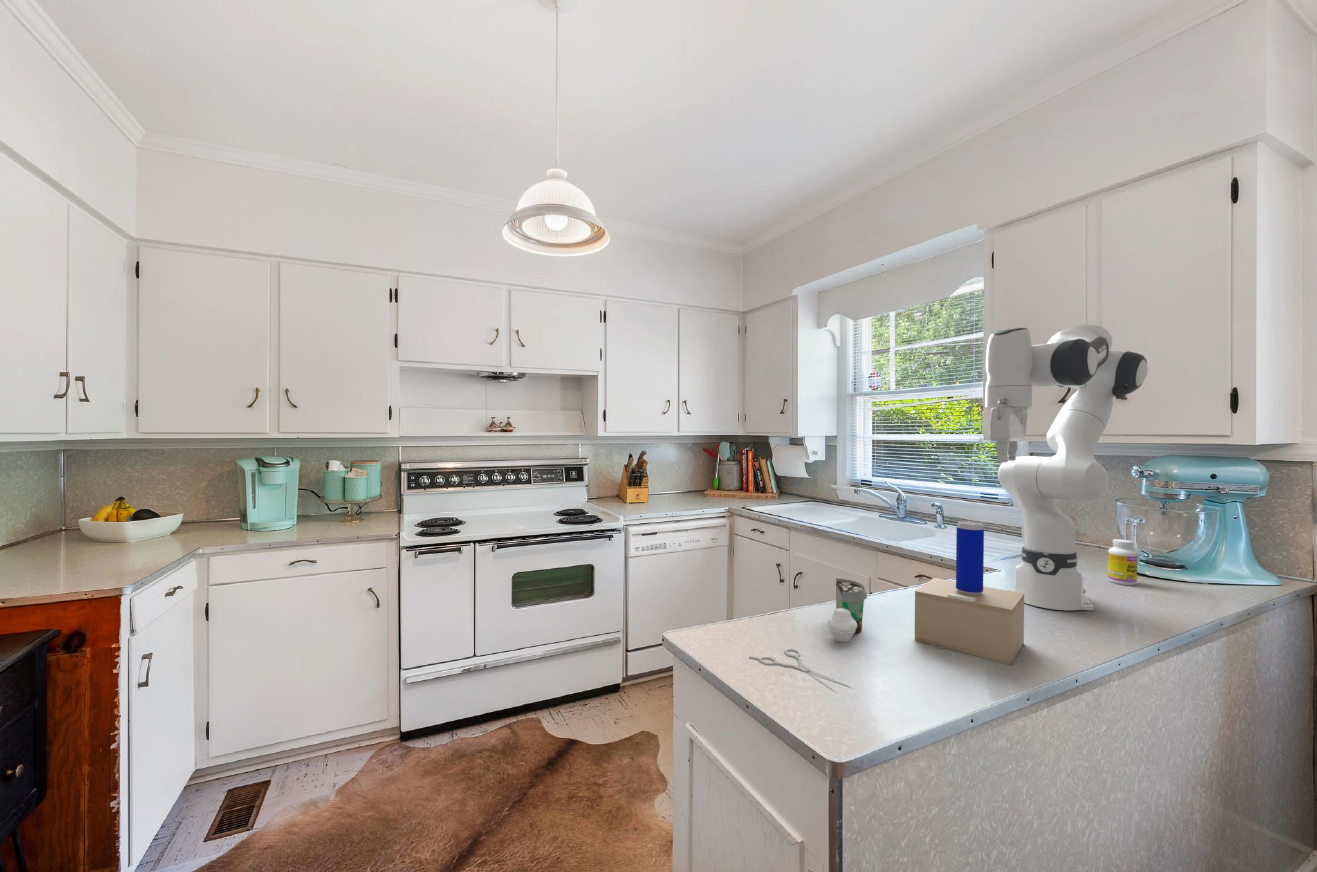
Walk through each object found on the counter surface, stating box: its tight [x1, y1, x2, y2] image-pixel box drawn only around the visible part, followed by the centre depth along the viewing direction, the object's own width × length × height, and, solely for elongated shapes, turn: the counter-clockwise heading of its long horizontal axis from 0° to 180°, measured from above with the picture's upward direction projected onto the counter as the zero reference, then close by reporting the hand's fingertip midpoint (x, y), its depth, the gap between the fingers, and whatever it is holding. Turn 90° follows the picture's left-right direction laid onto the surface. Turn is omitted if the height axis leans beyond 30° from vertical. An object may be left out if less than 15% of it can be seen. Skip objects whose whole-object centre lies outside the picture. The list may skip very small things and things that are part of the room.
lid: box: [914, 577, 1024, 615], centre depth 117 cm, size 14×18×2 cm
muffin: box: [827, 608, 857, 643], centre depth 119 cm, size 6×6×7 cm
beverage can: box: [955, 520, 985, 595], centre depth 117 cm, size 5×5×15 cm
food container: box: [835, 578, 868, 635], centre depth 125 cm, size 12×6×10 cm, turn 168°
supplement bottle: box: [1107, 538, 1138, 586], centre depth 163 cm, size 7×7×13 cm
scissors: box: [748, 648, 851, 695], centre depth 104 cm, size 11×1×20 cm
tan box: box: [914, 595, 1025, 666], centre depth 117 cm, size 14×18×10 cm
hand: (1007, 461), depth 122 cm, fingers open, 8 cm apart
